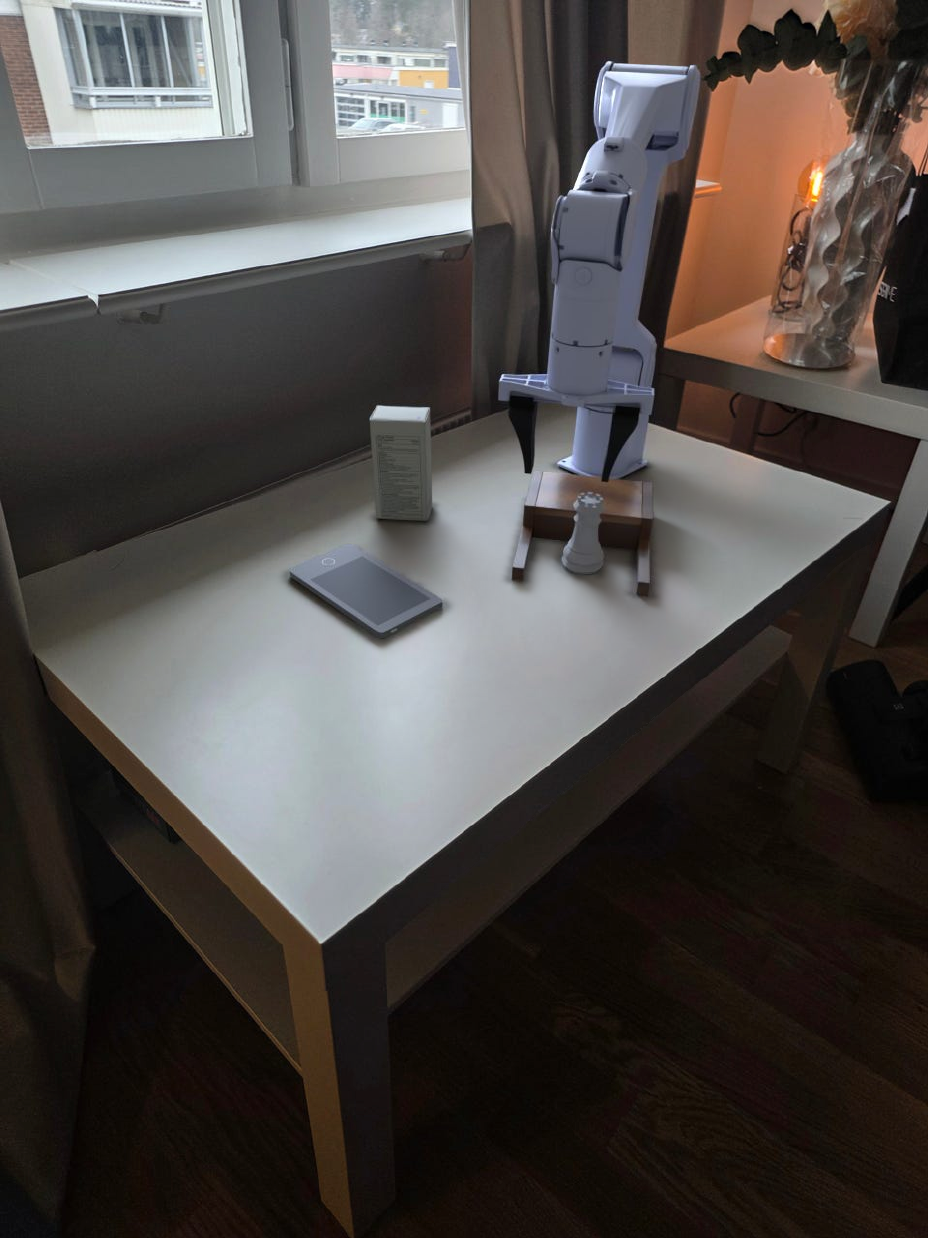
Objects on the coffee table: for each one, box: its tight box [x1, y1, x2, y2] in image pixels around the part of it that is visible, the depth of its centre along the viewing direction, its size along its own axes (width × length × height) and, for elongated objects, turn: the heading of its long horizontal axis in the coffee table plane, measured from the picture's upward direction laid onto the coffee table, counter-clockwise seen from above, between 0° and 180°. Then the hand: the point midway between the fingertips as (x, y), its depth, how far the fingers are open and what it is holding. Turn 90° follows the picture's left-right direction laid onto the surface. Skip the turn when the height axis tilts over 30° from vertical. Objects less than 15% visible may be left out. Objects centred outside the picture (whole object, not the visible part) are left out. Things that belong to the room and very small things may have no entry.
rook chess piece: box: [561, 492, 605, 575], centre depth 87 cm, size 4×4×8 cm
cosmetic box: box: [369, 405, 433, 522], centre depth 95 cm, size 6×4×12 cm
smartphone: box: [289, 543, 443, 639], centre depth 84 cm, size 15×8×1 cm, turn 44°
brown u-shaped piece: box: [511, 470, 654, 596], centre depth 92 cm, size 18×14×4 cm
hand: (566, 473), depth 84 cm, fingers open, 7 cm apart
